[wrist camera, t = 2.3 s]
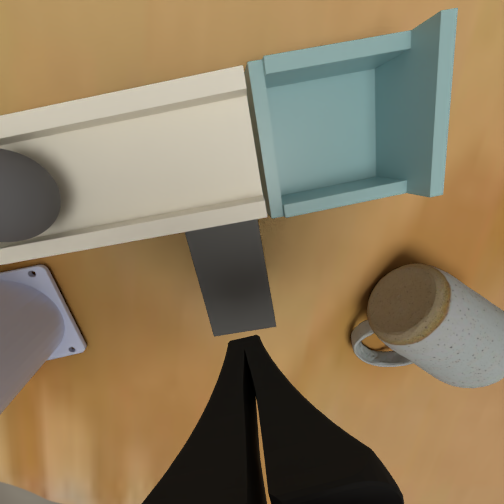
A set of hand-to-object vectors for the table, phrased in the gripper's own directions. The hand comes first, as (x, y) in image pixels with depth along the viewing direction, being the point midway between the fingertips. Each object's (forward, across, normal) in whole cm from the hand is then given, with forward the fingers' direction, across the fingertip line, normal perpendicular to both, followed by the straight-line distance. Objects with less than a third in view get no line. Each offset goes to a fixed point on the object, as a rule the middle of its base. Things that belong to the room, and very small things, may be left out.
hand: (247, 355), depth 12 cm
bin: (+10, -8, -8) cm, 16 cm away
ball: (+3, +9, -8) cm, 13 cm away
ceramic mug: (+11, -14, +8) cm, 19 cm away
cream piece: (+6, +4, -5) cm, 9 cm away
